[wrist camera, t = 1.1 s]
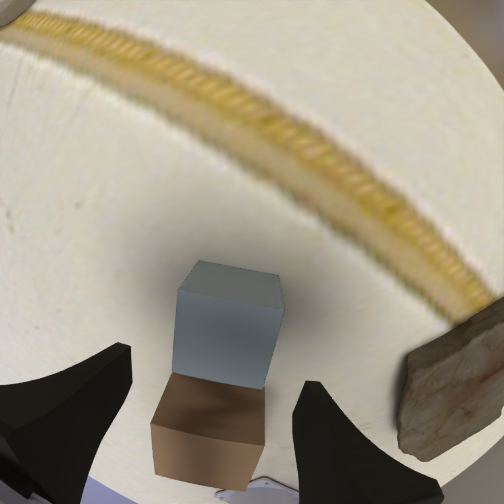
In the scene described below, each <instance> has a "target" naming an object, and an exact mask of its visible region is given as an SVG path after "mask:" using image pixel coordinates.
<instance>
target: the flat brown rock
mask: <svg viewBox="0 0 504 504" xmlns="http://www.w3.org/2000/svg"><path fill="white" fill-rule="evenodd" d="M503 406H504V297H502V298H501V299H499V300H498V301H496V302H495V303H494V304H492V305H491V306H489V307H487V308H486V309H484V310H482V311H481V312H479V313H477V314H475V315H474V316H473V317H472V318H470V319H469V320H468V321H467V322H466V323H464V324H462V325H461V326H459V327H457V328H455V329H453V330H451V331H450V332H448V333H446V334H445V335H443V336H441V337H440V338H437V339H435V340H433V341H431V342H430V343H428V344H426V345H423V346H421V347H419V348H417V349H415V350H413V351H412V352H410V353H409V354H408V380H407V382H406V384H405V385H404V387H403V389H402V397H401V402H400V408H399V412H398V417H397V430H398V434H397V440H398V447H399V449H400V450H401V451H402V452H403V453H405V454H409V455H413V456H415V457H416V458H417V459H418V460H419V461H422V462H428V461H430V460H432V459H434V458H435V457H438V456H439V455H441V454H442V453H444V452H446V451H447V450H449V449H451V448H452V447H454V446H456V445H458V444H459V443H461V442H462V441H464V440H465V439H467V438H469V437H470V436H472V435H474V434H476V433H477V432H479V431H481V430H482V429H484V428H485V427H487V426H488V425H490V424H491V423H492V422H494V421H495V420H496V419H498V418H499V417H500V416H501V410H502V407H503Z"/></svg>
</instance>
